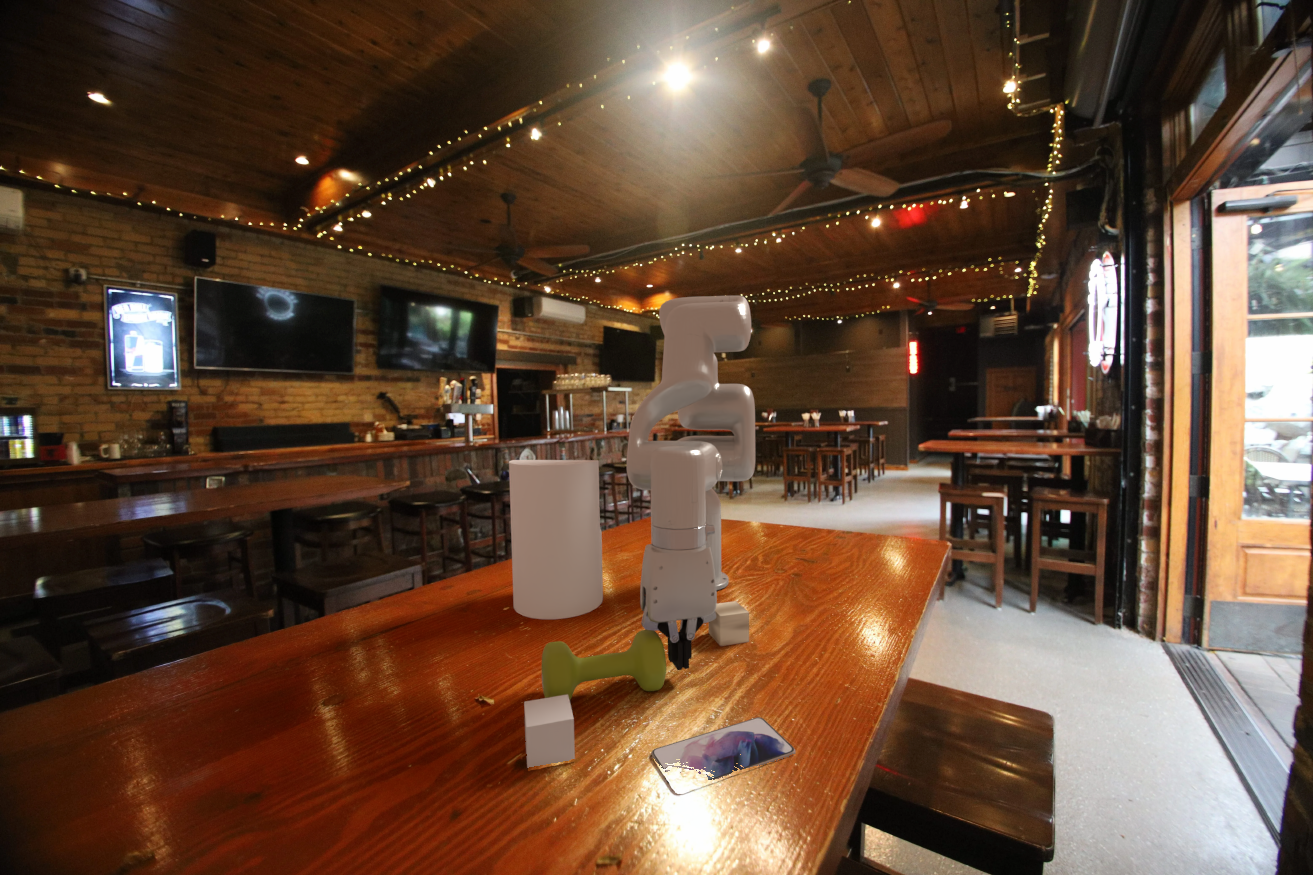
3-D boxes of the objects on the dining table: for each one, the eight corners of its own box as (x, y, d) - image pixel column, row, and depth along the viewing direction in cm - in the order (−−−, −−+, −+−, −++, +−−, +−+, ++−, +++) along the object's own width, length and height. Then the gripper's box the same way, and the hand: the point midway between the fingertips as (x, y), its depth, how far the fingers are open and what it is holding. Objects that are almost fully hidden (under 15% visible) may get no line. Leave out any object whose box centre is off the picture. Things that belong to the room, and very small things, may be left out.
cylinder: (588, 621, 94) (585, 465, 92) (497, 616, 96) (492, 465, 95) (612, 587, 111) (609, 455, 109) (534, 584, 114) (530, 455, 112)
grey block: (525, 743, 61) (524, 701, 60) (569, 735, 62) (568, 694, 62) (527, 772, 56) (526, 727, 55) (574, 762, 57) (573, 718, 57)
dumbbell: (656, 668, 77) (655, 620, 76) (671, 698, 69) (670, 645, 69) (541, 685, 73) (539, 635, 72) (544, 719, 65) (542, 662, 64)
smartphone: (798, 750, 58) (676, 793, 52) (798, 757, 58) (676, 800, 52) (760, 714, 65) (648, 749, 58) (760, 721, 65) (648, 756, 59)
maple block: (708, 633, 89) (708, 604, 88) (735, 629, 90) (735, 601, 90) (720, 646, 84) (720, 616, 83) (749, 642, 85) (749, 612, 85)
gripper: (717, 525, 78) (717, 645, 80) (619, 534, 74) (621, 660, 75) (739, 537, 71) (740, 669, 72) (633, 548, 67) (635, 687, 68)
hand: (679, 664), depth 74 cm, fingers closed
